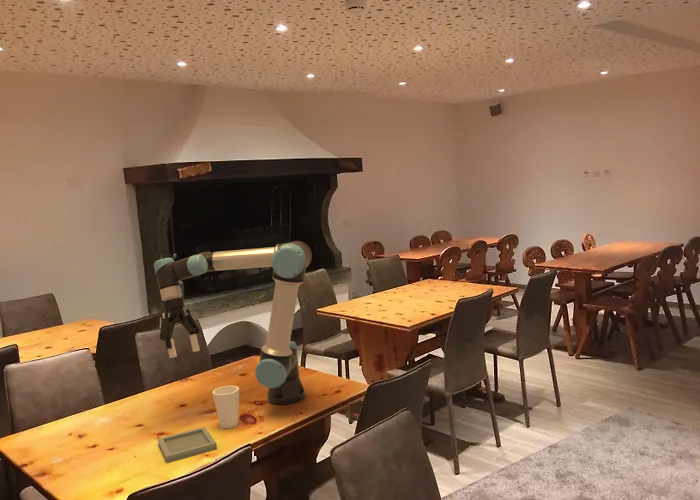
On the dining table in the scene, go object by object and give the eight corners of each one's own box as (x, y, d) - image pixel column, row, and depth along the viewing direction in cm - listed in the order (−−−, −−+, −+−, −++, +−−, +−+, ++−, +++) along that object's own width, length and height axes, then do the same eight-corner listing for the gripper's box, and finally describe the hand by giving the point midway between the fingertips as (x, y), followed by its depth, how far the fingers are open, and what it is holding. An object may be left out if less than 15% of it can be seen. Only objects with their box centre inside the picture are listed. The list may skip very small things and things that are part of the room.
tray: (205, 432, 202) (204, 426, 201) (216, 448, 188) (216, 443, 187) (158, 444, 194) (157, 438, 194) (166, 462, 180) (166, 456, 180)
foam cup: (230, 417, 213) (226, 384, 212) (247, 422, 208) (244, 387, 206) (210, 427, 206) (207, 392, 204) (228, 432, 200) (224, 396, 199)
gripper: (185, 299, 228) (197, 351, 225) (141, 304, 205) (154, 362, 202) (200, 294, 225) (213, 346, 223) (157, 298, 202) (171, 357, 200)
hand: (185, 354), depth 213 cm, fingers open, 13 cm apart
